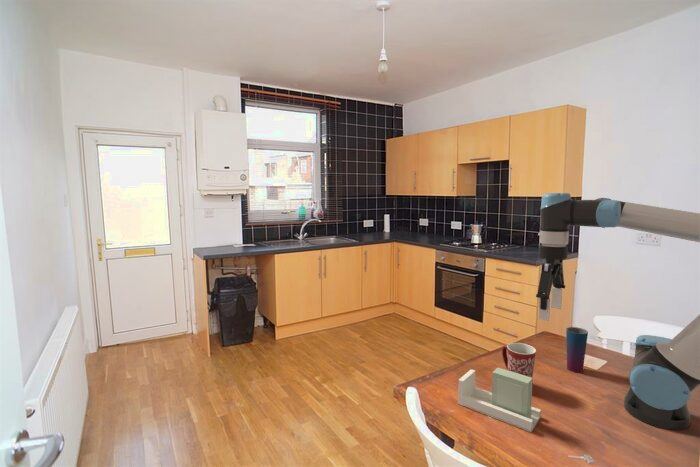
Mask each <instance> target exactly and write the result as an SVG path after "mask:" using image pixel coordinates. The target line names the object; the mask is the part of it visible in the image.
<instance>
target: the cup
mask: <svg viewBox="0 0 700 467" xmlns="http://www.w3.org/2000/svg"><path fill="white" fill-rule="evenodd" d="M588 333H589V332H588V330H587V329H585V328H582V327H578V326H568V327H566V330H565V334H566V335H565V336H566V369H567V370H568V371H570V372H573V373H578V374H579V373H583V371H584V366H585V358H586V350H587V344H588V335H589V334H588Z"/></svg>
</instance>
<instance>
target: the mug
mask: <svg viewBox="0 0 700 467" xmlns="http://www.w3.org/2000/svg"><path fill="white" fill-rule="evenodd" d="M536 353H537V349H536V348H535V347H534V346H532V345H529V344H527V343H523V342H522V343H521V342H512V343H511V342H510V343H508V344H507V345H504V346H503V347H502V351H501V354H502V359H503V362H504V365H505V368H506V370H508V371H511V372H515V373H518V374H521V375H525V376H528V377H531V378H533V376H534V370H535V369H534V367H535V358H536Z"/></svg>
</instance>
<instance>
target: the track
mask: <svg viewBox="0 0 700 467" xmlns="http://www.w3.org/2000/svg"><path fill="white" fill-rule="evenodd" d="M457 390H458V393H457V396H458V397H457V398H458V399H457V404H458V405H461V406H463V407H465V408H468V409H471V410H473V411H475V412H478V413H481V414H483V415H486V416H488V417H490V418H493V419H496V420H498V421H501V422H503V423H506V424H508V425H510V426H513V427H516V428H518V429H521V430H524V431H526V432H529V433H532V432H533V430H534V429H535V427H536V426H537V424H538V422H539V421H540V419H541V418H542V416H541V414H542V413H541V412H542V410H541V409H540V408H537V407H534V406H531V417H530V418H527V417H524V416H522V415H519V414H516V413H513V412H511V411H508V410H505V409H503V408H500V407H497V406H495V405H492V391H489V390H486V389H482V388H479V387H477V386H476V370H474V369H469V370H468V371H467V372H466V373H465V374H464V375H462V376H461V377H460V378H459V379H458V389H457Z"/></svg>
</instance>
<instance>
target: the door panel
mask: <svg viewBox="0 0 700 467" xmlns="http://www.w3.org/2000/svg"><path fill="white" fill-rule="evenodd" d="M533 379H534V378H533V377H532V378H531V377H528V376H525V375H521V374H518V373H515V372H511V371H508V370H507V369H505V368H501V367H496V368H495V370H493V371H492V382H491V393H492V405H495V406H497V407H500V408H503V409H505V410H508V411H511V412H513V413H516V414H519V415H522V416H524V417H527V418H530V417H531V407H532V403H533V402H532V401H533V400H532V399H533V398H532V396H533Z"/></svg>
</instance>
